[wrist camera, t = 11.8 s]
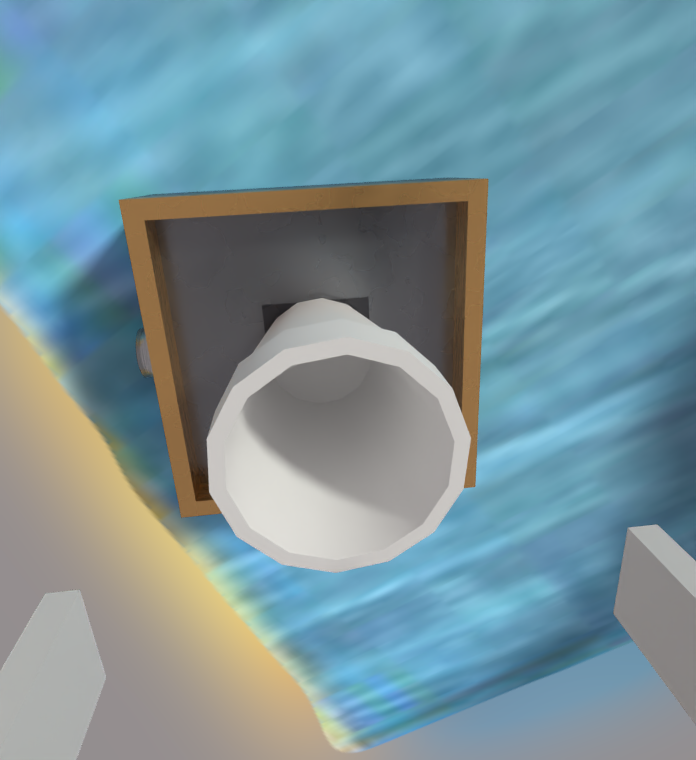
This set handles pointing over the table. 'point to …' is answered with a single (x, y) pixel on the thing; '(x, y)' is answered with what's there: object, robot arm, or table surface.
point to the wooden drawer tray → (300, 288)
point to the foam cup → (335, 442)
